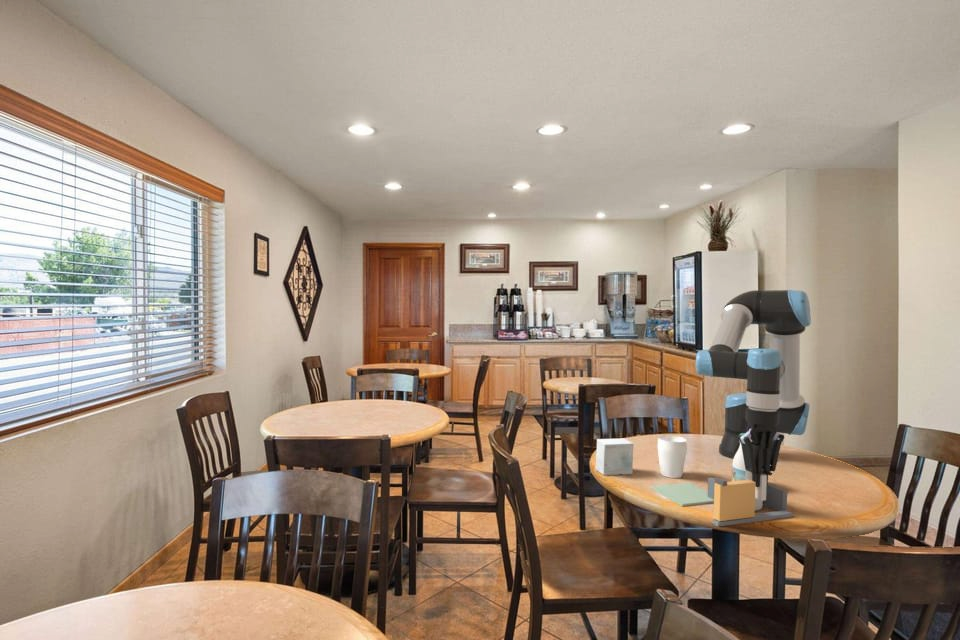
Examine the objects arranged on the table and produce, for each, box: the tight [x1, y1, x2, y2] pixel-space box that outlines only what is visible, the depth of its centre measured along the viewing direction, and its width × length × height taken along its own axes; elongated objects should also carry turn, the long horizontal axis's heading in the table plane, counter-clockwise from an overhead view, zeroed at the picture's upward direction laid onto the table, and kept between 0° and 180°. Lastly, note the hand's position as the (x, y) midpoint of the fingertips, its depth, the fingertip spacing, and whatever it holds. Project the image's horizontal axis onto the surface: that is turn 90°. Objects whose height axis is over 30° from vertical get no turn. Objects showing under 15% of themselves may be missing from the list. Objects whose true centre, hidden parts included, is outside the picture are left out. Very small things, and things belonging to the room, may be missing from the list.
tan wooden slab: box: [713, 477, 756, 521], centre depth 126 cm, size 11×3×10 cm, turn 106°
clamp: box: [707, 477, 794, 527], centre depth 135 cm, size 25×16×6 cm, turn 106°
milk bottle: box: [731, 433, 763, 512], centre depth 137 cm, size 8×8×20 cm
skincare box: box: [595, 437, 634, 476], centre depth 164 cm, size 10×6×10 cm, turn 102°
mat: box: [650, 482, 714, 507], centre depth 145 cm, size 14×14×1 cm
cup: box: [657, 434, 688, 479], centre depth 162 cm, size 9×9×12 cm
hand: (759, 498), depth 129 cm, fingers closed
